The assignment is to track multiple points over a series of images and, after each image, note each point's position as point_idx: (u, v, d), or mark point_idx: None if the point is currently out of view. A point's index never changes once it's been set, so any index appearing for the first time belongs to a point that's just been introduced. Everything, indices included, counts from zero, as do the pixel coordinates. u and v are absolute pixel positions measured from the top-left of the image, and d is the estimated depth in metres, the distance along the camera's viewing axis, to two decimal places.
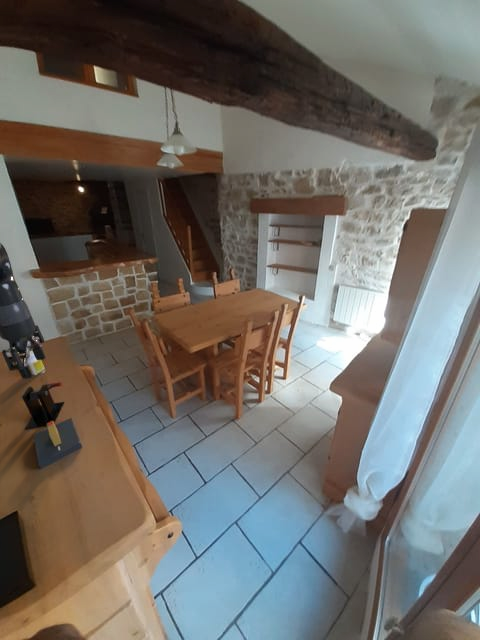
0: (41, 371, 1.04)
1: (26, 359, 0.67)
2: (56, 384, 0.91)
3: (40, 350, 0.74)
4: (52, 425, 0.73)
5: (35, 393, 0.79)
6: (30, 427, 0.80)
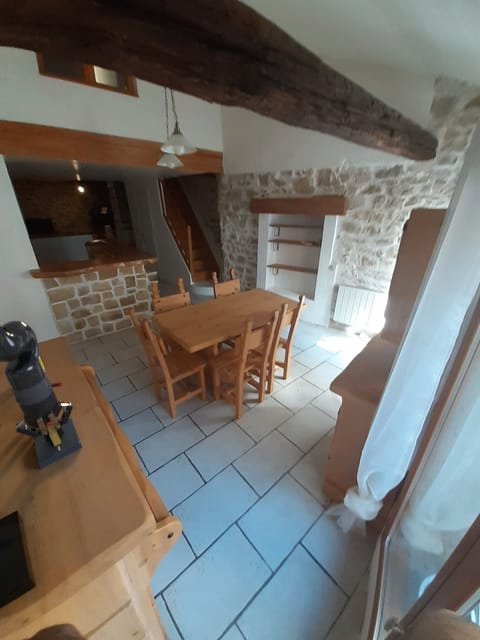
0: None
1: (44, 429, 0.70)
2: (56, 384, 0.91)
3: (56, 430, 0.73)
4: (52, 425, 0.73)
5: None
6: None
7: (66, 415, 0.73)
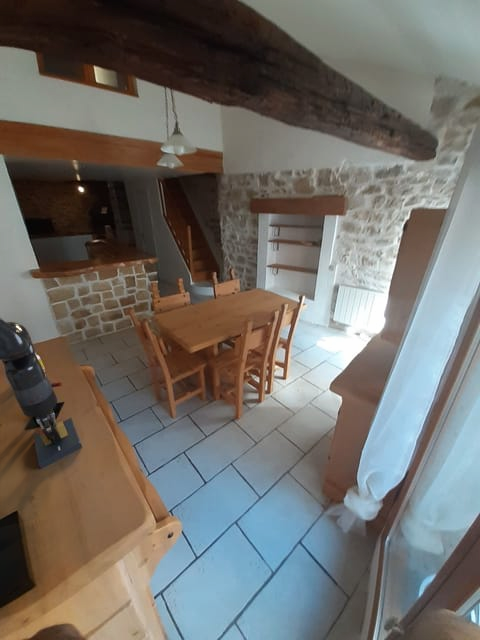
0: None
1: None
2: (56, 384, 0.91)
3: None
4: None
5: None
6: (30, 427, 0.80)
7: None
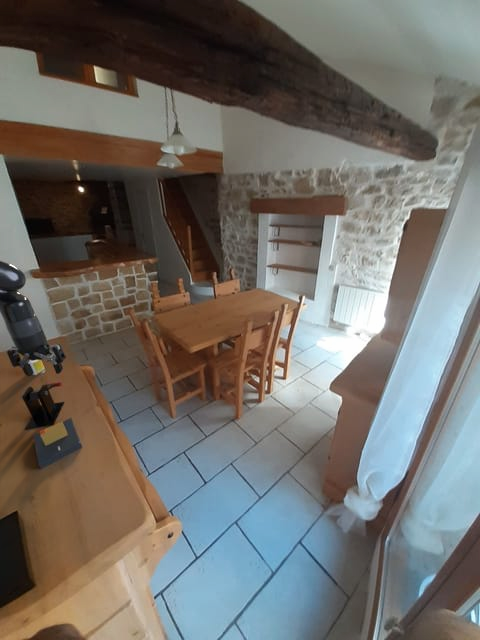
0: (41, 371, 1.04)
1: None
2: (56, 384, 0.91)
3: (29, 365, 0.81)
4: (47, 428, 0.72)
5: (35, 393, 0.79)
6: (30, 427, 0.80)
7: None
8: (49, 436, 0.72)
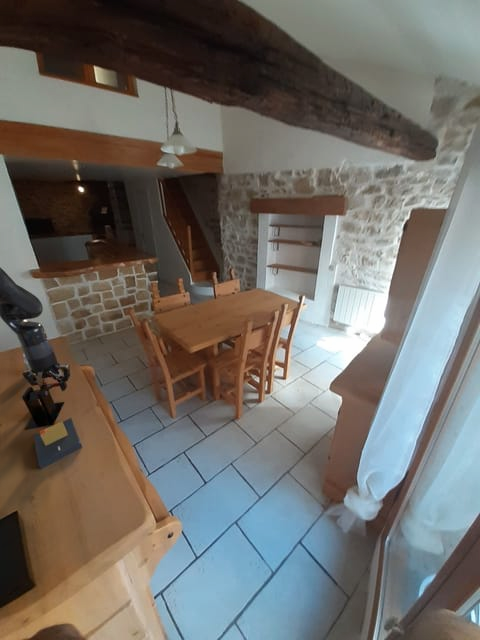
0: None
1: None
2: (56, 384, 0.91)
3: (45, 383, 0.91)
4: (47, 428, 0.72)
5: (35, 393, 0.79)
6: (30, 427, 0.80)
7: None
8: (49, 436, 0.72)
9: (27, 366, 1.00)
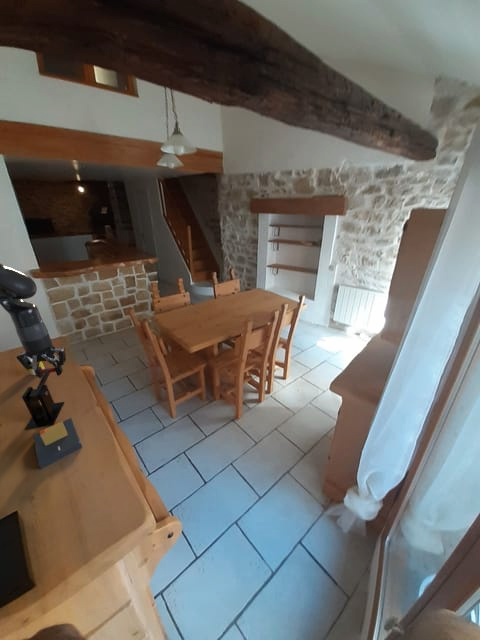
0: None
1: None
2: (52, 370, 0.89)
3: (40, 367, 0.89)
4: (47, 428, 0.72)
5: (35, 396, 0.79)
6: (30, 427, 0.80)
7: None
8: (49, 436, 0.72)
9: None
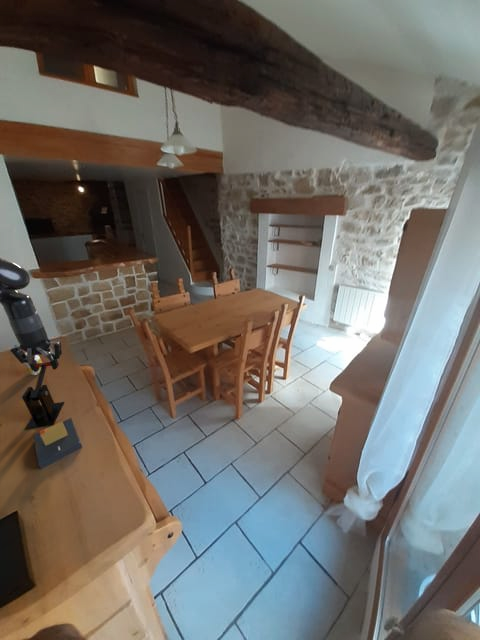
0: None
1: None
2: (48, 365, 0.87)
3: (35, 361, 0.86)
4: (47, 428, 0.72)
5: (35, 397, 0.79)
6: (30, 427, 0.80)
7: None
8: (49, 436, 0.72)
9: (27, 366, 1.00)
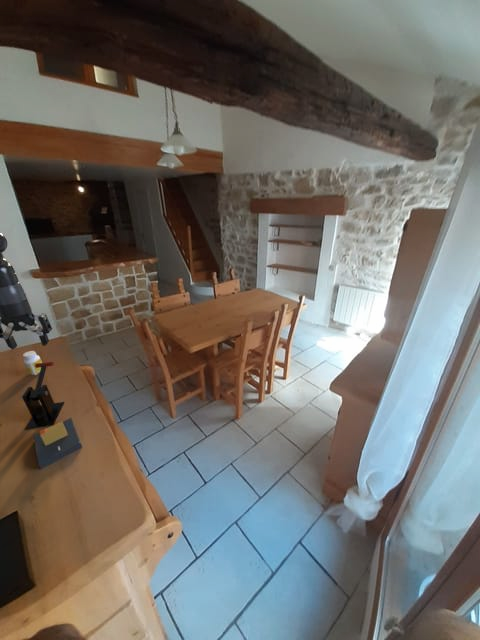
0: None
1: None
2: (48, 365, 0.87)
3: (12, 337, 0.78)
4: (47, 428, 0.72)
5: (35, 397, 0.79)
6: (30, 427, 0.80)
7: None
8: (49, 436, 0.72)
9: (27, 366, 1.00)
